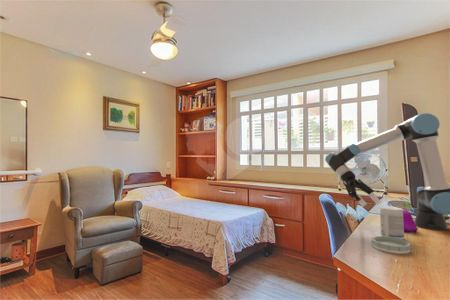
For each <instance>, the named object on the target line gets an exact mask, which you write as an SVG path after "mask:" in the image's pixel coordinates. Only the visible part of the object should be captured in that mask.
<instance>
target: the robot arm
mask: <svg viewBox="0 0 450 300" xmlns="http://www.w3.org/2000/svg"><path fill="white" fill-rule="evenodd" d="M440 123H441V122H440V120H439V119H438V116H436V115H434V114H432V113H429V112H427V113H425V112H424V113H419V114H416V115H414V116H413V117H412V116H411V117H410V118H409V119H407V120H405V121H403V122H402V123H399V124H397V125H394V127H393V128H392V129H389V130H386V131H384V132H381V133H380V134H376V135H374V136H371V137H368V138H366V139H364V140H361V141H359V142H358V141H357V143H354V142H352V143H350V144H348V145H347V146H345V147H343V148H341V149H340V151H339V152H337V153H336V152H331V153H329V154H327V155H326V156H325V158H324V161H325V163H327V165H328V166H329V167H330V168H331V170H332V171H333V172H334V173H335V174H336V175H337V177H338V178H340V180H341V181H342V184H343V185H344V187H345V189H346V191H347V193H348V196H349V197H351V198H352V199H353V198H354V199H355V200H356V201H357V202H358V203H359V205H360V206H361V208H364V207H365V206H367V204H368V203H367V202H366V201H365V200H364V199H363V197H362V196H361V195H360V194H359V193H358V192H357V190H356V189H359V190H361V191H362V192H364V193H366V194H367V195H368V196H369V198H371V200H372V201H373V202H374V203H375V205H377V206H378V205H379V204H380V203H382V200H381V199H380V198H379V197H378V196H376V194H375V193H374V192H375V190H374V189H373V188H371V187H370V186H369V185H367V184H366V183H365V182H364V181H362V179H360V178H358V179H356V174H355V173H354V172H353V171H351V170H352V169H350V167H348V165H346V164H347V163H348V162H349V161H351V160H352V159H354V158H355V157H357V156H359V155H362V154H365V153H368V152H371V151H373V150H376V149H379V148H381V147H384V146H386V145H389V144H392V143H395V142H397V141H405V140H407V139H411V141H412V142H414V143H415V144H416V147H417V152H418V156H419V160H420V164H421V165H420V166H421V168H422V174H423V176H424V182H425V184H426V185H425V186H418V187H417V188H416V203H417V205H416V206H417V212H416V215H415V219H413V220H414V222H415V225H416V227H417V228H418V227H419V228H422V229H427V230H434V231H446V230H447V231H448V229H449V225H448V222H447V221H446V218H445V216H444V215H450V184H448V182H447V179H446V175H445V171H444V166H443V162H442V159H441V155H440V151H439V146H438V143H437V139H438V137H440V136H439V135H440V134H439V131H438V130H439V128H440Z"/></svg>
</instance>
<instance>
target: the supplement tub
mask: <svg viewBox="0 0 450 300" xmlns="http://www.w3.org/2000/svg"><path fill="white" fill-rule="evenodd" d="M379 213H380V214H379V215H380V234H381V235H380V236H386V237H394V238H398V239H402V240H405V232H404V221H403V208H400V207H395V206H380V211H379Z"/></svg>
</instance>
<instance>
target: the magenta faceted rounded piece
mask: <svg viewBox="0 0 450 300" xmlns="http://www.w3.org/2000/svg"><path fill="white" fill-rule="evenodd" d="M402 205H403V208H404V209H403V208H402V210H403V221H404V233H416V232H417V231H418V229H419V228H418V226H416V225H415V222H414V220H415V219H413V216H412V214H411V212H409V210H407V208H410V209H412V207H411V206H409V205H408V204H406V203H405V202H403V203H402Z"/></svg>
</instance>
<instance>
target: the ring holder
mask: <svg viewBox="0 0 450 300" xmlns="http://www.w3.org/2000/svg"><path fill="white" fill-rule="evenodd" d="M371 247H373V248H374V249H376V250H378V251H381V252H386V253H389V254H397V255H407V254H410V253H411V249H412V244H411V243H410V241H407V240H405V239H403V240H402V239H398V238H394V237H386V236H381V235H377V236H376V235H375V236H372V237H371Z"/></svg>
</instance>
